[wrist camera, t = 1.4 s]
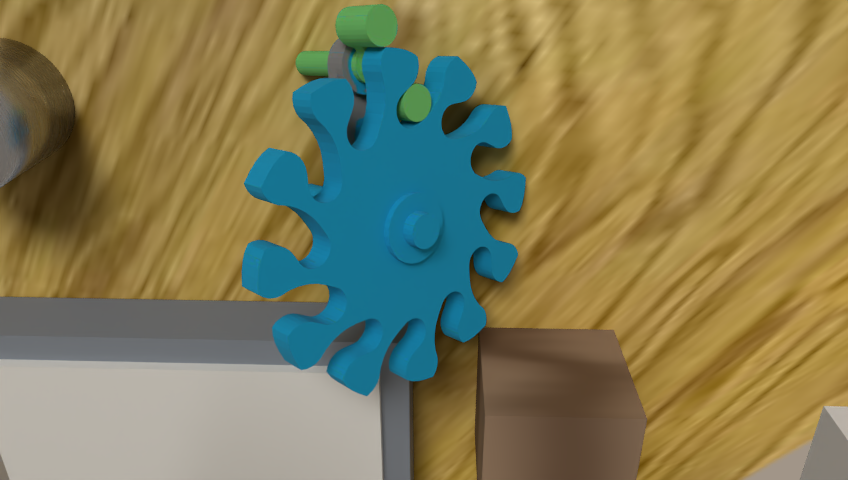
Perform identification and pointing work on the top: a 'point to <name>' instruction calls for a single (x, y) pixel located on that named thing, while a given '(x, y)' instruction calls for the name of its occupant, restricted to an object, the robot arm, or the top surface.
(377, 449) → the stand
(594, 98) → the top surface
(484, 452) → the walnut block
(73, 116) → the steel cylinder
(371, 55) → the gear
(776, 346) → the top surface
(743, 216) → the top surface
